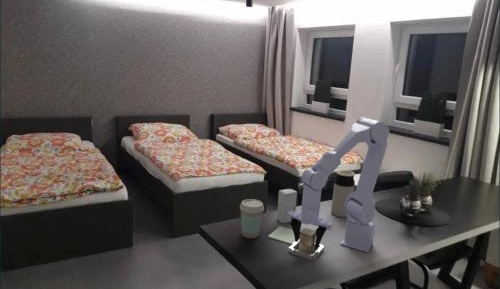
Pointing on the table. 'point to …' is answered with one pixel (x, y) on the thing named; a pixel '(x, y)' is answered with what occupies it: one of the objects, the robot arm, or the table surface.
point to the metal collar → (304, 254)
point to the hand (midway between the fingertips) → (307, 243)
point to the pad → (283, 235)
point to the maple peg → (307, 240)
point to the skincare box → (286, 204)
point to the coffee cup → (251, 217)
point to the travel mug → (342, 191)
